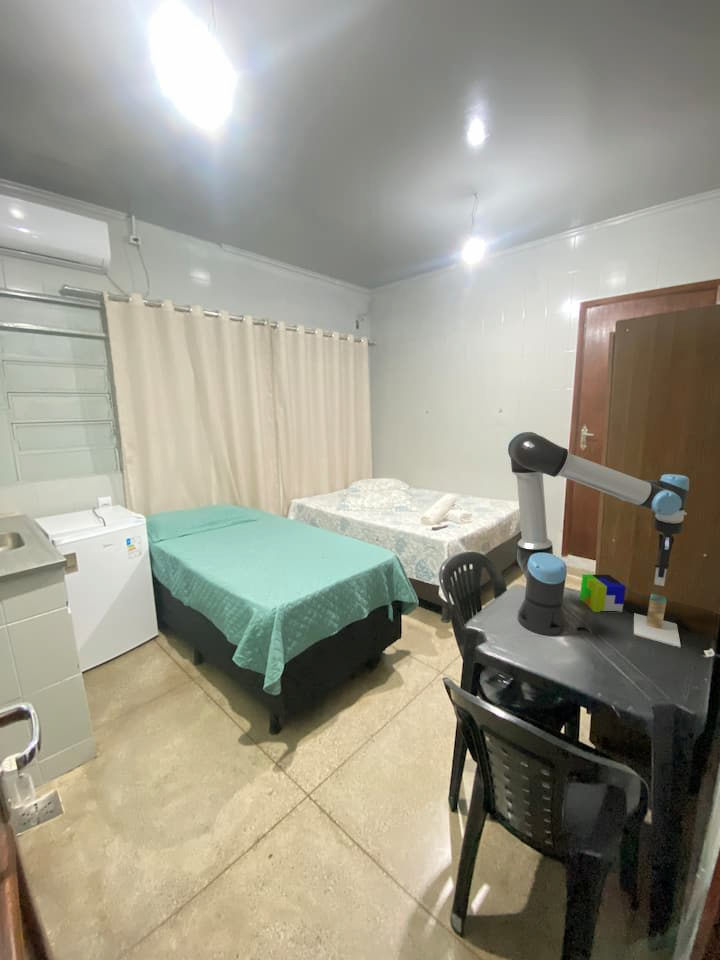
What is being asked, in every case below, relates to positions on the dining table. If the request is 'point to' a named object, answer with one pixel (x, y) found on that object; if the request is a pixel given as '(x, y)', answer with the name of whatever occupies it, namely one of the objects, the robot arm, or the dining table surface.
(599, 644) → the dining table surface
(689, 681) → the dining table surface
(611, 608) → the puzzle toy
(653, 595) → the block
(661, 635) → the mat
